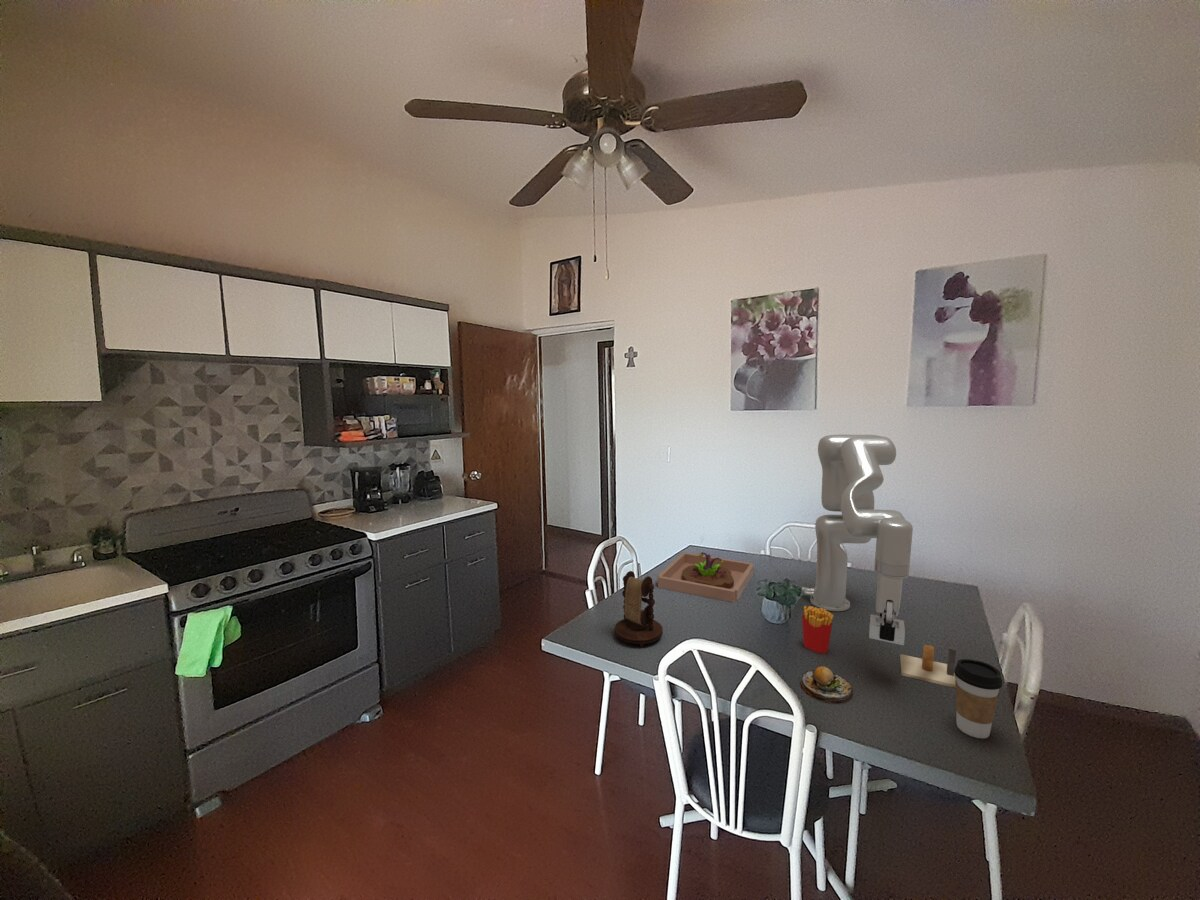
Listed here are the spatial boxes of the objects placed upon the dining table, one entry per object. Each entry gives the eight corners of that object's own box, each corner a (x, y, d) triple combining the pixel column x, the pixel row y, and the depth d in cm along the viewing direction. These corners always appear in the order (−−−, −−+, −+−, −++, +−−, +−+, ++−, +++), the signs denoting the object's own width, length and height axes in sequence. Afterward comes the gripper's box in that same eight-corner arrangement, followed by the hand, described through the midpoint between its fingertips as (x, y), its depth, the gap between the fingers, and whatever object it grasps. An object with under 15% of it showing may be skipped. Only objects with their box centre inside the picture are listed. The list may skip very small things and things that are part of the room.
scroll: (604, 637, 152) (603, 575, 149) (633, 619, 163) (633, 561, 160) (643, 654, 142) (643, 588, 140) (671, 634, 153) (672, 572, 151)
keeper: (901, 675, 130) (903, 647, 129) (900, 656, 139) (901, 629, 138) (957, 688, 124) (959, 658, 123) (952, 667, 133) (954, 640, 132)
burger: (863, 700, 121) (864, 672, 120) (820, 708, 118) (821, 679, 117) (830, 672, 133) (831, 646, 131) (791, 678, 130) (791, 652, 129)
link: (869, 637, 127) (870, 625, 126) (869, 626, 132) (870, 614, 132) (903, 645, 123) (905, 632, 122) (902, 633, 129) (903, 620, 128)
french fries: (799, 645, 146) (800, 606, 144) (805, 640, 148) (807, 602, 147) (828, 656, 139) (830, 616, 138) (834, 651, 142) (836, 612, 140)
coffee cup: (940, 717, 114) (945, 657, 112) (974, 715, 115) (980, 654, 112) (970, 744, 106) (976, 679, 103) (1007, 741, 106) (1014, 676, 104)
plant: (680, 569, 205) (681, 543, 203) (729, 570, 202) (729, 544, 201) (682, 589, 185) (682, 560, 184) (735, 591, 183) (736, 562, 181)
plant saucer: (656, 588, 188) (656, 576, 188) (683, 562, 214) (683, 552, 214) (735, 604, 174) (736, 592, 173) (754, 574, 200) (754, 563, 199)
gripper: (874, 553, 134) (870, 614, 137) (874, 577, 119) (869, 646, 122) (907, 557, 130) (901, 621, 133) (911, 583, 115) (904, 653, 118)
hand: (886, 632), depth 127 cm, fingers closed on link, 6 cm apart
